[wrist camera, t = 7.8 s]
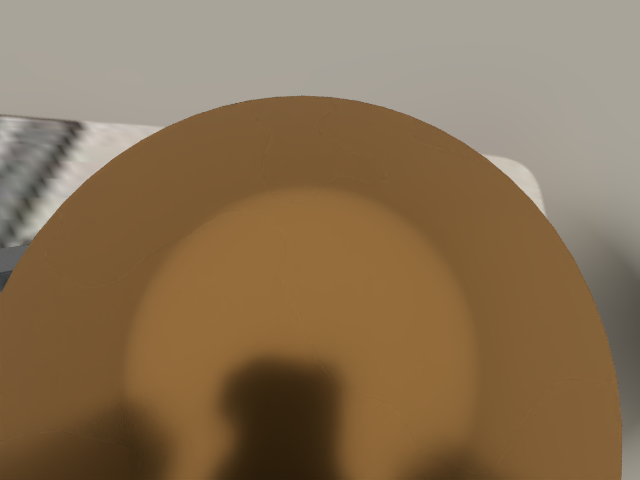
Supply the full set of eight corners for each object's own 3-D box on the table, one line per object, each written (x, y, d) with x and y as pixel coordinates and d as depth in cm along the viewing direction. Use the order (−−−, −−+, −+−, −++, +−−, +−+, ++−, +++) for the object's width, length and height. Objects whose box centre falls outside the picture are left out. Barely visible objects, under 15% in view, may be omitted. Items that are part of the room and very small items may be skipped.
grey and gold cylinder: (352, 449, 15) (738, 1046, 1) (244, 417, 15) (-257, 617, 2) (371, 335, 17) (574, 141, 4) (277, 311, 18) (165, 65, 4)
